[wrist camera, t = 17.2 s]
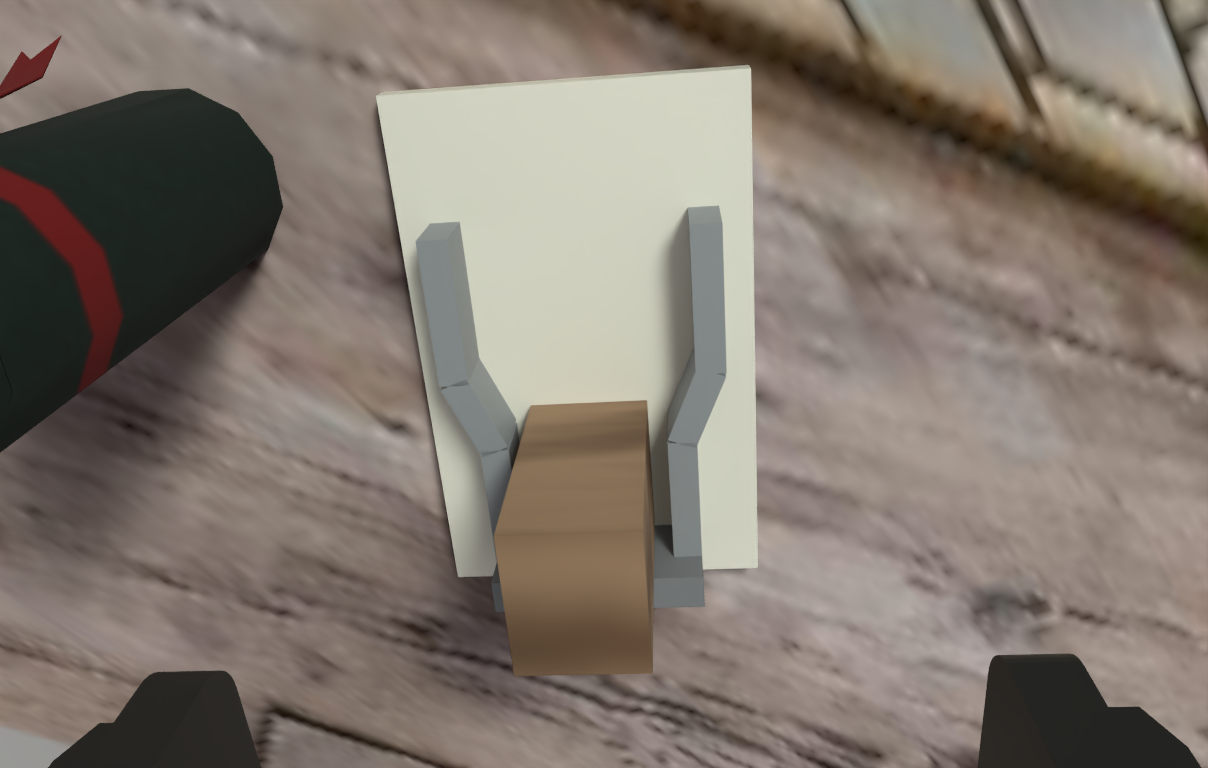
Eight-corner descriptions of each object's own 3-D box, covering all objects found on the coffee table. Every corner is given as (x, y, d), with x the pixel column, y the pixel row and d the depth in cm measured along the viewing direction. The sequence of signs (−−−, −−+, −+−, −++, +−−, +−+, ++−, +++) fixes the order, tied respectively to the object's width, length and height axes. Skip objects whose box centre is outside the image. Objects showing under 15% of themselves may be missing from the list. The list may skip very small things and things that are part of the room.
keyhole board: (382, 92, 37) (343, 113, 33) (748, 64, 36) (761, 82, 31) (462, 564, 46) (440, 632, 42) (755, 555, 45) (766, 624, 41)
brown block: (530, 405, 41) (493, 536, 32) (647, 399, 41) (642, 531, 32) (545, 523, 44) (514, 676, 35) (654, 519, 43) (652, 673, 34)
